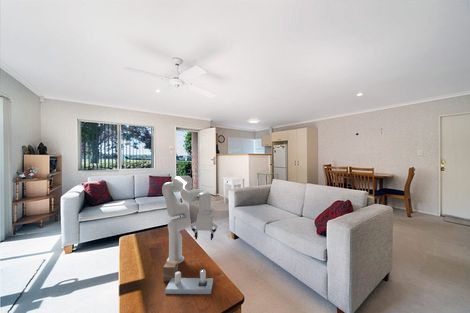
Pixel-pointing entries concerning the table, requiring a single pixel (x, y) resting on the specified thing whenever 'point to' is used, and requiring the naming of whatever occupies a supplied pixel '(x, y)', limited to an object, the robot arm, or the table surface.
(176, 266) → the wooden box
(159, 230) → the table surface
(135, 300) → the table surface
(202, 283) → the peg
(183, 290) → the board
